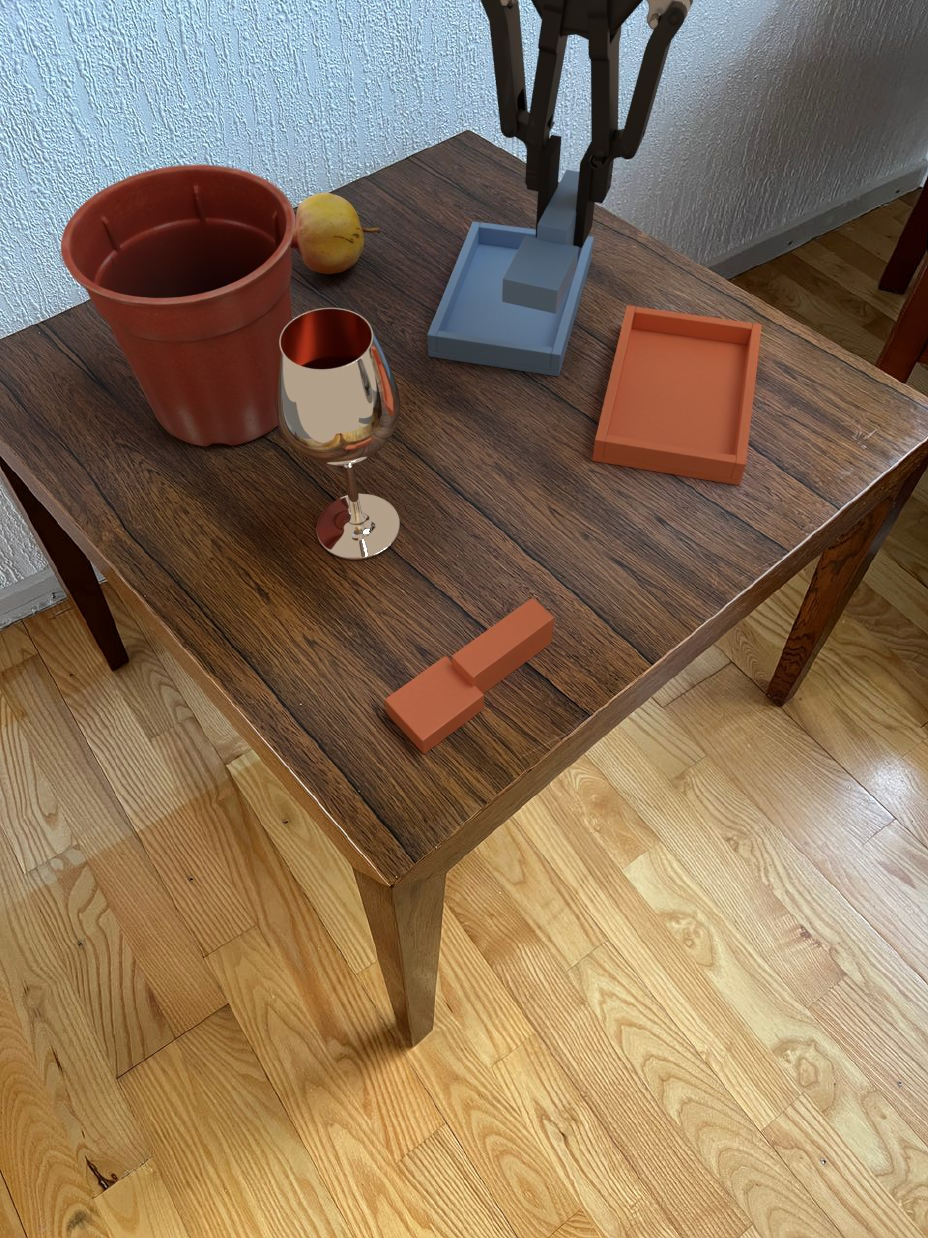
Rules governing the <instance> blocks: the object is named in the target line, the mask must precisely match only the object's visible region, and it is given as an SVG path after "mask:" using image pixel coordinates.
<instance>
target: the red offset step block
mask: <svg viewBox="0 0 928 1238" xmlns="http://www.w3.org/2000/svg"><path fill="white" fill-rule="evenodd" d="M554 622H555V617H554V616H553V615H552V614H551V613H550V612H549V611H548V610H547V609H545V607H543V606H542V605H541V604H540V603H539V602H538V601H537V600H536V599H535V598H533V597H531V598H530V599H528V600H527V601H525V602H524V603H523V604H521V605H520V606H519V607H517V608H515V610H513V611H512V612H510V613H509V614H507V615H506V616H505V617H503V618H502V619H500V620H499V621H498V622H497V623H495V624H494V625H492V626H491V627H490V628H488V629H487V630H485V631H484V632H483V633H481V634H480V635H478V636H477V637H476V638H474V639H473V640H472V641H470V642H469V643H468V644H465V646H463V647H462V648H461V649H459V650H458V651H456V652H455V653H454V654H452V655H451V660H450V658H449V657H448V656H447V655H444V656H443V657H441V658H440V659H439V660H437V661H436V662H434V663H433V664H432V665H430V666H429V667H427V668H426V669H424V671H422V672H420V673H419V674H418V675H416V676H415V677H414V678H412V679H411V680H410V681H408V682H406V683H405V684H404V685H403V686H401V687H400V688H398V689H397V690H396V691H394V692H393V693H392V694H390V695H389V696H387V697H386V698H384V703H385V710H386V714H387V716H388V717H389V718H390V719H391V720H392V721H393V722H394V723H395V725H397V727H398V728H399V729H400V730H401V731H402V732H403V733H404V734H405V736H407V738H408V739H409V740H410V741H411V742H412V743H413V744H414V746H416V748H417V749H418V750H419V751H420V752H421V753H422V754H423V755H425V754H427V753H428V752H429V751H431V750H432V749H433V748H434V747H436V746H437V745H438V744H440V743H441V742H443V741H444V740H445V739H447V738H448V737H449V736H450V735H452V734H453V733H454V732H456V731H457V730H458V729H459V728H461V727H462V726H464V725H465V724H466V723H467V722H469V721H470V720H471V719H473V718H474V717H475V716H477V715H478V714H479V713H481V712H482V711H483V710H485V694H486V693H487V692H488V691H489V690H491V689H492V688H493V687H495V686H496V685H497V684H499V683H500V682H501V681H503V680H504V679H506V678H507V677H508V676H509V675H511V674H512V673H513V672H515V671H516V670H518V669H519V668H520V667H521V666H523V665H524V664H526V663H527V662H528V661H530V660H532V658H533V657H534V656H536V655H538V654H539V653H540V652H541V651H542V650H544V649H545V648H547V647H548V646H549V645H551V644H552V643H553V642H552V641H553V631H554V624H555V623H554Z"/></svg>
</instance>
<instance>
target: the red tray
mask: <svg viewBox="0 0 928 1238" xmlns="http://www.w3.org/2000/svg"><path fill="white" fill-rule="evenodd" d="M762 327H763V325H762V324H760V323H754V322H747V321H742V320H741V321H740V320H734V319H728V318H727V319H726V318H719V317H712V316H706V315H699V314H693V313H686V312H685V313H684V312H678V311H676V312H675V311H670V310H663V309H656V308H649V307H641V306H636V305H630V304H627V305H626V307H625V311H624V316H623V319H622V323H621V327H620V332H619V336H618V340H617V346H616V349H615V352H614V353H615V354H614V358H613V362H612V366H611V371H610V375H609V380H608V384H607V388H606V391H605V395H604V400H603V405H602V409H601V413H600V417H599V420H598V421H599V422H598V425H597V431H596V435H595V439H594V446H593V451H592V452H593V453H592V462H597V463H603V464H608V465H609V464H610V465H613V466H614V465H615V466H622V467H627V468H633V469H638V470H645V471H649V472H656V473H662V474H669V475H675V476H681V477H687V478H693V479H699V480H704V481H711V482H715V483H716V482H717V483H722V484H728V485H735V486H740V484H741V481H742V479H743V475H744V472H745V469H746V466H747V459H748V453H749V452H748V451H749V444H750V443H749V441H750V433H751V426H752V425H751V424H752V416H753V406H754V399H755V390H756V382H757V381H756V380H757V371H758V363H759V354H760V345H761V336H762Z"/></svg>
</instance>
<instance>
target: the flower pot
mask: <svg viewBox="0 0 928 1238" xmlns="http://www.w3.org/2000/svg"><path fill="white" fill-rule="evenodd" d="M295 227H296V214H295V210H294V207H293V204H292V202H291V200H290V199H289V198H288V197H287V195H286V194H285V193H284V192H283V191H282V189H280V188H279V187H278V186H276V185H275V184H274V183H272V182H271V181H269V180H267V179H265V178H263V177H261V176H259V175H257V174H255V173H252V172H249V171H246V170H242V169H239V168H234V167H230V166H224V165H217V164H216V165H214V164H200V163H199V164H197V163H195V164H183V165H182V164H181V165H171V166H164V167H160V168H159V167H158V168H155V169H150V170H147V171H141V172H139V173H136V174H132V175H130V176H128V177H125V178H124V179H121V180H119V181H116V182H115V183H113V184H111V185H109V186H107V187H105V188H103V189H102V190H100V191H98V192H97V193H94V195H92V196H90V197H89V198H88V199H87V200H86V201H85V202H84V203H82V204H81V206H80V207H79V208H78V209H77V210H76V211H75V212H74V213H73V214H72V216H71V217H70V219H69V220H68V222H67V224H66V225H65V227H64V230H63V232H62V235H61V240H60V254H61V258H62V262H63V264H64V266H65V268H66V269H67V270H68V272H69V273H70V275H71V276H72V278H73V279H74V280H75V281H76V282H77V284H79V285H80V286H81V287H82V288H84V290H85V291H86V293H87V295H88V297H89V298H90V301H91V302H92V304H93V306H94V308H95V309H96V311H97V313H98V314H99V315H100V316H101V317H102V318H103V320H105V322H107V324H108V326H109V328H110V330H111V331H112V334H113V335H114V338H115V339H116V341H117V343H118V346H119V347H120V350H121V351H122V353H123V355H124V357H125V359H126V360H127V363H128V365H129V366H130V369H131V370H132V372H133V374H134V376H135V379H136V380H137V382H138V384H139V386H140V388H141V390H142V391H143V394H144V396H145V398H146V400H147V402H148V404H149V407H150V408H151V410H152V411H153V414H154V415H155V418H156V420H157V421H158V423H159V425H161V426H162V428H163V429H164V430H165V431H166V432H167V433H169V434H170V435H172V437H175V438H177V439H178V440H180V441H183V442H185V443H188V444H190V445H194V446H200V447H209V446H210V445H212V444H225V445H229V446H231V447H232V446H238V445H242V444H246V443H249V442H252V441H255V440H257V439H259V438H261V437H263V436H265V435H266V434H268V433H270V432H272V431H273V430H274V429H276V428H277V427H279V426H278V423H277V419H276V415H275V407H274V390H275V376H276V366H277V357H278V348H279V340H280V335H281V333H282V331H283V329H284V328H285V326H286V325H287V324H288V323H289V322H290V321H292V320H293V313H292V311H293V310H292V300H291V287H290V282H291V279H292V273H293V261H292V248H291V246H290V245H291V243H292V240H293V237H294V232H295Z"/></svg>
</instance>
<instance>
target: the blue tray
mask: <svg viewBox="0 0 928 1238" xmlns="http://www.w3.org/2000/svg"><path fill="white" fill-rule="evenodd" d="M525 236H531V237H535V236H536V228H527V227H520V226H514V225H513V226H512V225H505V224H498V223H489V222H483V221H482V222H481V221H472V222H471V224H470V228H469V230H468V232H467V235H466V237H465V240H464V242H463V245H462V247H461V250H460V251H459V255H458V257H457V259H456V262H455V265H454V267H453V270H452V272H451V274H450V276H449V280H448V282H447V285H446V287H445V289H444V292H443V294H442V297H441V299H440V302H439V305H438V307H437V310H436V312H435V315H434V317H433V320H432V322H431V324H430V327H429V330H428V332H427V334H426V339H427V350H428V351H427V354H428V355H427V356H428V357H429V358H436V359H442V360H448V361H455V362H456V361H457V362H463V363H467V364H468V363H469V364H474V365H481V366H488V367H493V368H494V367H495V368H501V369H508V370H513V371H519V372H520V371H521V372H527V373H533V374H539V375H545V376H546V375H547V376H553V377H560V374H561V371H562V367H563V363H564V360H565V356H566V352H567V349H568V346H569V341H570V338H571V334H572V331H573V327H574V324H575V320H576V317H577V313H578V310H579V306H580V304H581V299H582V295H583V291H584V288H585V284H586V281H587V277H588V274H589V270H590V266H591V263H592V260H593V249H594V240H595V239H594V238H595V237H594V236H589V235H588V237H587V239H586V241H585V243H584V245H583V247H582V248H580V247H578V257H577V266H576V271H575V273H574V275H573V278H572V280H571V282H570V284H569V286H568V288H567V290H566V293H565V295H564V297H563V299H562V301H561V303H560V305H559V308H558V310H557V312H556V313H555V314H554V313H550V312H545V311H541V310H537V309H532V308H528V307H523V306H519V305H515V304H510V303H506V302H502V288H503V277H504V275H505V273H506V272H507V270H508V268H509V266H510V264H511V262H512V260H513V258H514V256H515V255H516V253H517V251H518V249H519V247H520V245H521V243H522V241H523V239H524V238H525Z"/></svg>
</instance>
